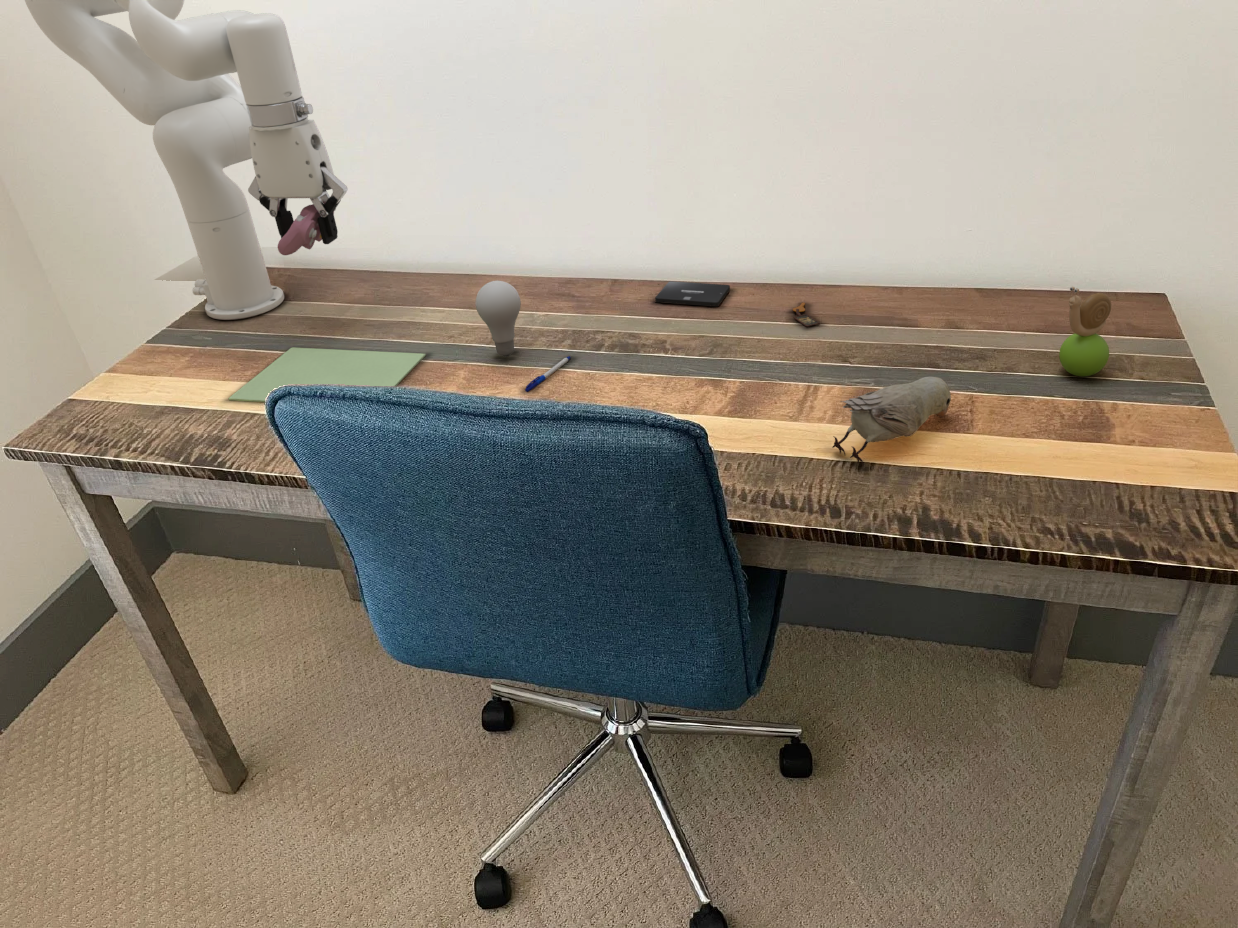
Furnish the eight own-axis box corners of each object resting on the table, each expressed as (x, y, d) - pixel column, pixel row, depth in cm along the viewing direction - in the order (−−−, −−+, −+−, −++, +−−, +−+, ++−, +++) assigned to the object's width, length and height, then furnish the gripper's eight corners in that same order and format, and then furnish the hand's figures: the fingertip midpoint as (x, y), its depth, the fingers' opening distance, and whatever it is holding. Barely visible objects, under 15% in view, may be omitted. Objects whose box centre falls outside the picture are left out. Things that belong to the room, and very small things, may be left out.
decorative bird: (962, 424, 110) (969, 365, 106) (858, 473, 103) (862, 412, 99) (925, 407, 114) (931, 349, 110) (823, 453, 107) (826, 394, 103)
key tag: (821, 325, 135) (821, 321, 135) (800, 328, 135) (800, 324, 135) (804, 303, 142) (804, 299, 142) (784, 305, 142) (784, 302, 142)
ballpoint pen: (530, 393, 125) (529, 387, 125) (524, 392, 126) (523, 386, 125) (571, 360, 133) (570, 353, 132) (566, 359, 133) (565, 352, 133)
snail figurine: (1039, 373, 119) (1055, 280, 112) (1080, 360, 121) (1097, 269, 114) (1073, 390, 114) (1091, 295, 108) (1114, 377, 116) (1135, 283, 110)
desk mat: (228, 400, 131) (228, 398, 131) (292, 349, 144) (291, 347, 144) (373, 409, 125) (373, 407, 125) (426, 355, 138) (425, 353, 138)
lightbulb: (535, 349, 137) (525, 275, 131) (514, 368, 132) (502, 292, 126) (499, 344, 139) (487, 272, 133) (476, 362, 134) (463, 288, 129)
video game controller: (303, 267, 138) (312, 224, 134) (274, 253, 138) (282, 210, 134) (333, 243, 146) (342, 202, 143) (305, 230, 146) (314, 189, 142)
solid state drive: (717, 307, 144) (717, 302, 143) (654, 302, 147) (654, 298, 147) (730, 289, 149) (730, 285, 149) (669, 285, 153) (669, 281, 152)
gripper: (347, 106, 133) (375, 232, 142) (238, 109, 137) (272, 232, 147) (320, 119, 127) (351, 250, 136) (207, 121, 131) (245, 249, 141)
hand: (310, 239), depth 141 cm, fingers closed on video game controller, 6 cm apart
